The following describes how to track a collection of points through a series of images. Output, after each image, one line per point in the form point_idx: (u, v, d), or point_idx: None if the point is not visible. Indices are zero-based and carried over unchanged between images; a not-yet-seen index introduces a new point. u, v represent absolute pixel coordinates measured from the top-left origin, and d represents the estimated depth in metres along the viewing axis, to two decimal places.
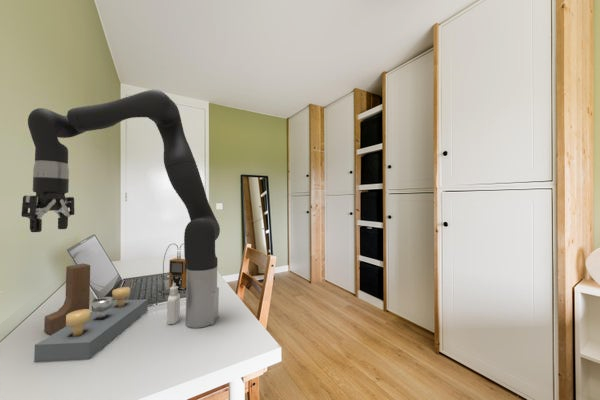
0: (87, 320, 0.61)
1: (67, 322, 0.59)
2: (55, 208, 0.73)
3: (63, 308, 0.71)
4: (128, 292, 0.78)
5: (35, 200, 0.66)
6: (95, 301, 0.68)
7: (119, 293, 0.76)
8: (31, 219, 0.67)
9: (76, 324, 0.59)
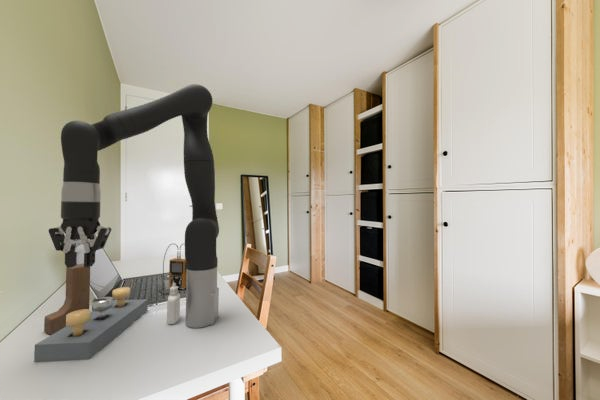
0: (87, 320, 0.61)
1: (67, 322, 0.59)
2: None
3: (63, 308, 0.71)
4: (128, 292, 0.78)
5: None
6: (95, 301, 0.68)
7: (119, 293, 0.76)
8: (92, 252, 0.62)
9: (76, 324, 0.59)
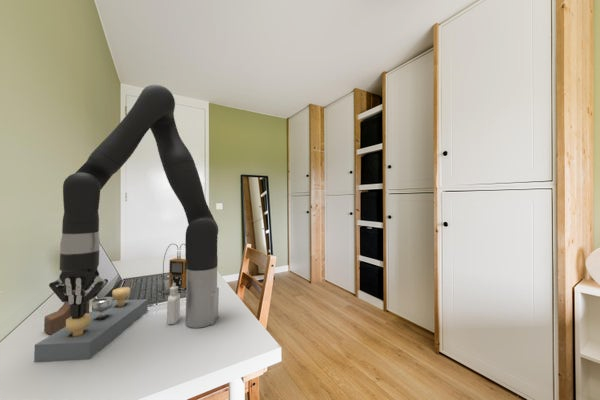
0: (87, 324, 0.61)
1: (67, 327, 0.59)
2: None
3: (63, 308, 0.71)
4: (128, 292, 0.78)
5: None
6: (95, 301, 0.68)
7: (119, 293, 0.76)
8: (84, 303, 0.61)
9: (76, 329, 0.59)
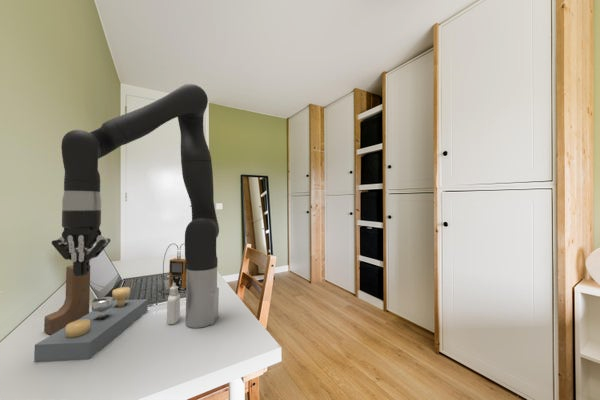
0: (87, 330, 0.61)
1: (67, 333, 0.59)
2: None
3: (63, 308, 0.71)
4: (128, 292, 0.78)
5: None
6: (95, 301, 0.68)
7: (119, 293, 0.76)
8: (87, 261, 0.62)
9: (76, 335, 0.59)
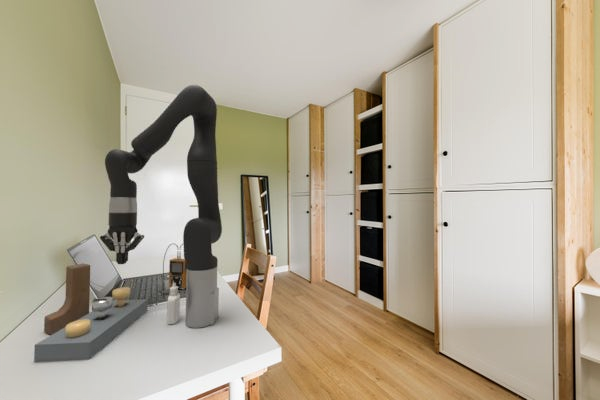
0: (87, 330, 0.61)
1: (67, 333, 0.59)
2: None
3: (63, 308, 0.71)
4: (128, 292, 0.78)
5: None
6: (95, 301, 0.68)
7: (119, 293, 0.76)
8: (126, 252, 0.78)
9: (76, 335, 0.59)
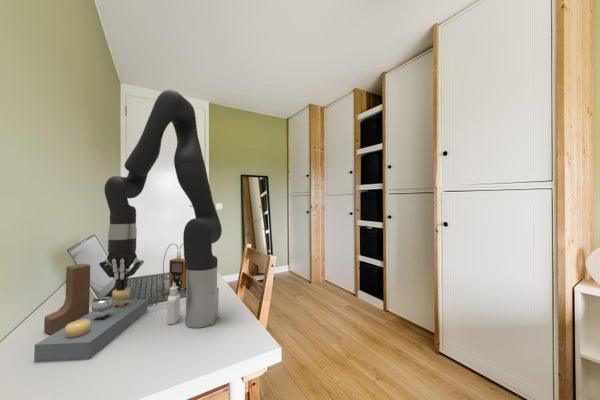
0: (87, 330, 0.61)
1: (67, 333, 0.59)
2: None
3: (63, 308, 0.71)
4: (128, 292, 0.78)
5: None
6: (95, 301, 0.68)
7: (119, 293, 0.76)
8: (126, 278, 0.78)
9: (76, 335, 0.59)
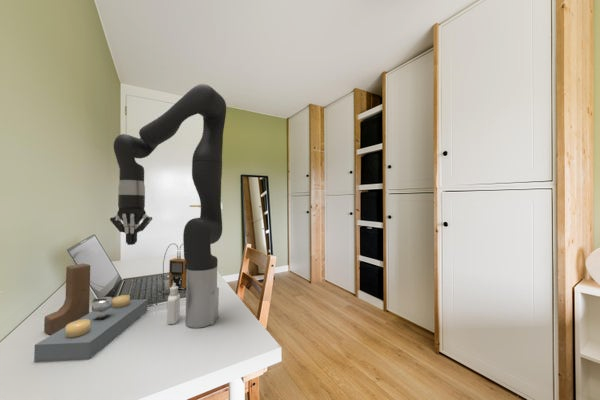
0: (87, 330, 0.61)
1: (67, 333, 0.59)
2: None
3: (63, 308, 0.71)
4: (128, 300, 0.78)
5: None
6: (95, 301, 0.68)
7: (119, 301, 0.76)
8: (135, 233, 0.82)
9: (76, 335, 0.59)
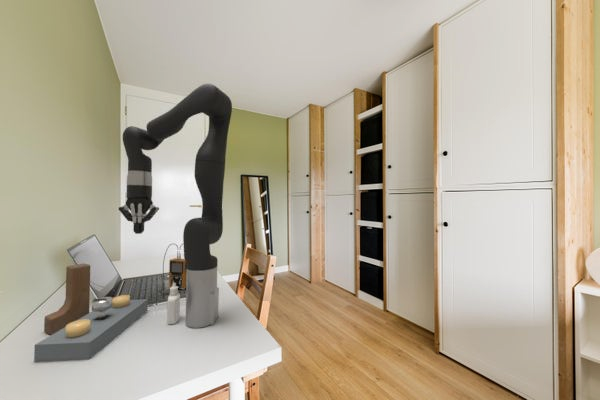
0: (87, 330, 0.61)
1: (67, 333, 0.59)
2: None
3: (63, 308, 0.71)
4: (128, 300, 0.78)
5: None
6: (95, 301, 0.68)
7: (119, 301, 0.76)
8: (143, 223, 0.84)
9: (76, 335, 0.59)
